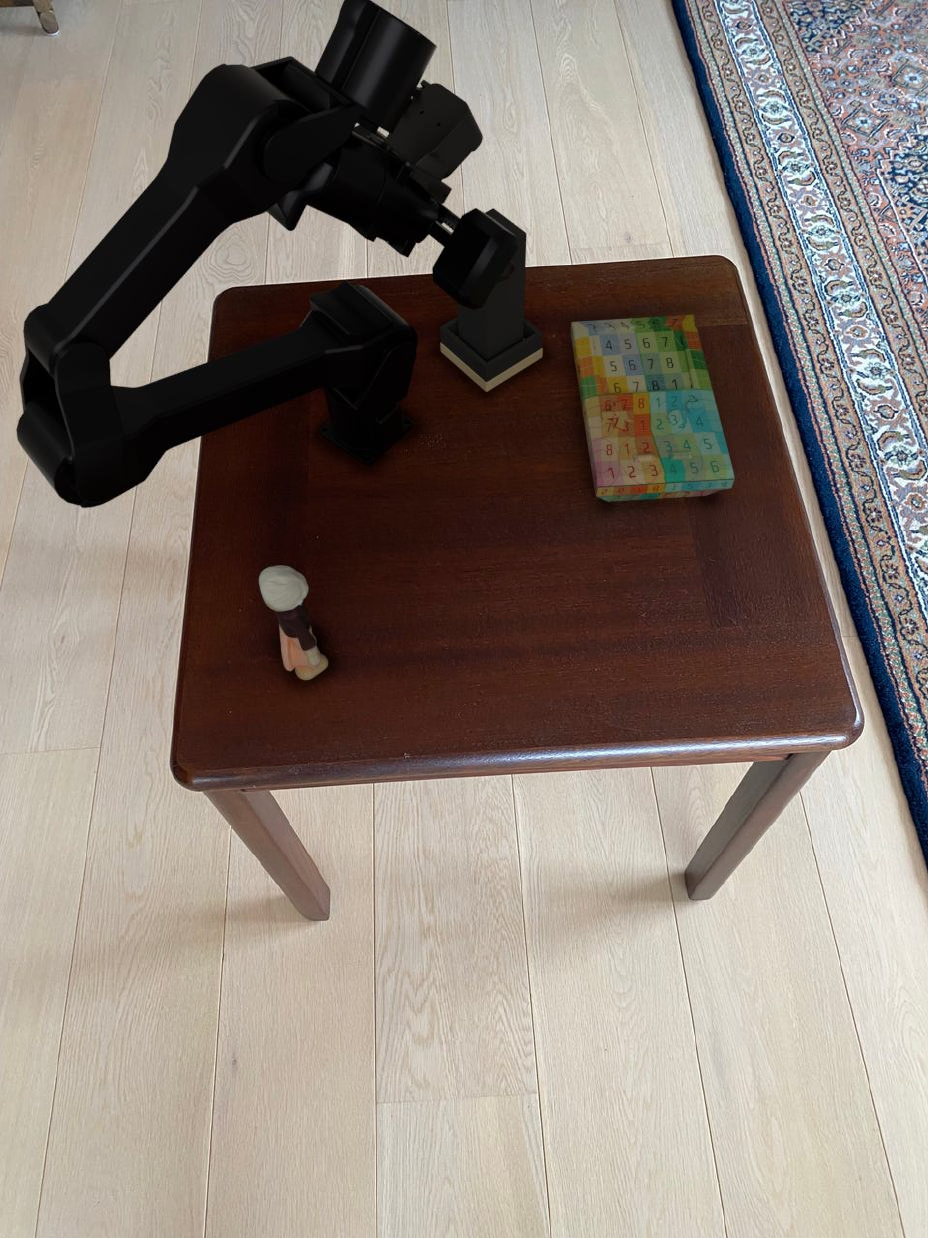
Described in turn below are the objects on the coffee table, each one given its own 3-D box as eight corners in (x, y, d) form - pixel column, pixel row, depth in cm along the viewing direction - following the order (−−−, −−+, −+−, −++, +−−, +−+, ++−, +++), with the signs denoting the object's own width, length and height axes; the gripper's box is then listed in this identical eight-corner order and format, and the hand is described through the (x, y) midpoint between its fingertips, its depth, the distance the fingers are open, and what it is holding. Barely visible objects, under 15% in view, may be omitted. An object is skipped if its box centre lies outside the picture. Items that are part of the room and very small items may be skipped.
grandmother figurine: (263, 640, 76) (223, 555, 65) (302, 615, 77) (270, 527, 66) (313, 707, 73) (280, 629, 62) (353, 680, 74) (328, 599, 63)
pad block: (487, 368, 89) (486, 255, 78) (458, 343, 91) (453, 229, 80) (523, 347, 90) (526, 232, 79) (493, 322, 92) (493, 207, 81)
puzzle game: (598, 480, 77) (572, 314, 87) (593, 514, 82) (568, 351, 92) (737, 472, 77) (695, 306, 87) (725, 505, 82) (686, 344, 92)
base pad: (486, 392, 89) (486, 368, 86) (440, 351, 92) (438, 326, 89) (542, 357, 91) (543, 332, 88) (496, 318, 94) (496, 293, 91)
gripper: (498, 132, 60) (606, 210, 72) (334, 17, 67) (458, 106, 80) (411, 286, 64) (527, 334, 77) (267, 162, 72) (394, 224, 84)
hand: (476, 244), depth 79 cm, fingers open, 9 cm apart
